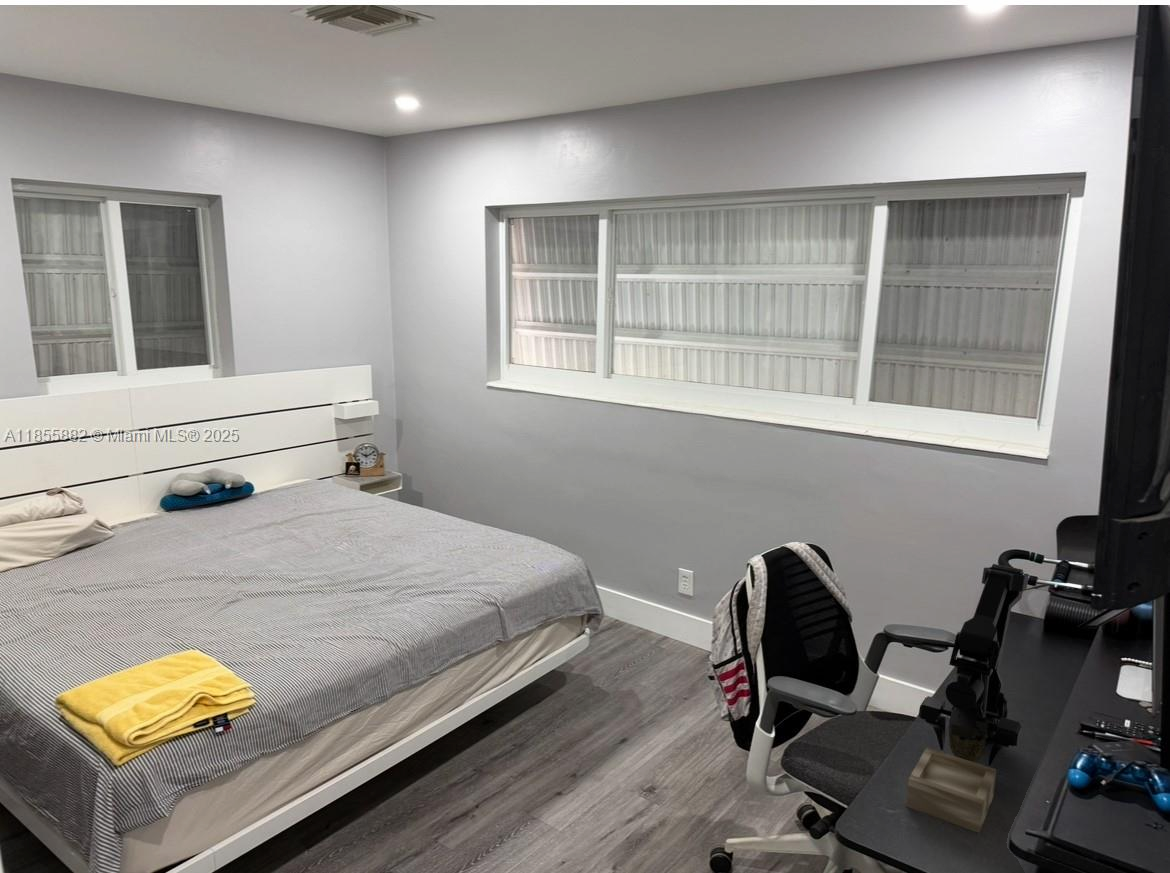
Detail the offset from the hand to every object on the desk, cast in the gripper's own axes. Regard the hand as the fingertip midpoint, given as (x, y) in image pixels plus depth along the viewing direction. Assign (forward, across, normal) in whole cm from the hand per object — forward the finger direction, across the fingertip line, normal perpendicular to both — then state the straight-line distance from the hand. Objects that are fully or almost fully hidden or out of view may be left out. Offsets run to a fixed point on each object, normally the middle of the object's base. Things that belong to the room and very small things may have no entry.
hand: (965, 756), depth 170 cm
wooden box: (+2, 0, -15) cm, 15 cm away
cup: (+2, 0, 0) cm, 2 cm away
